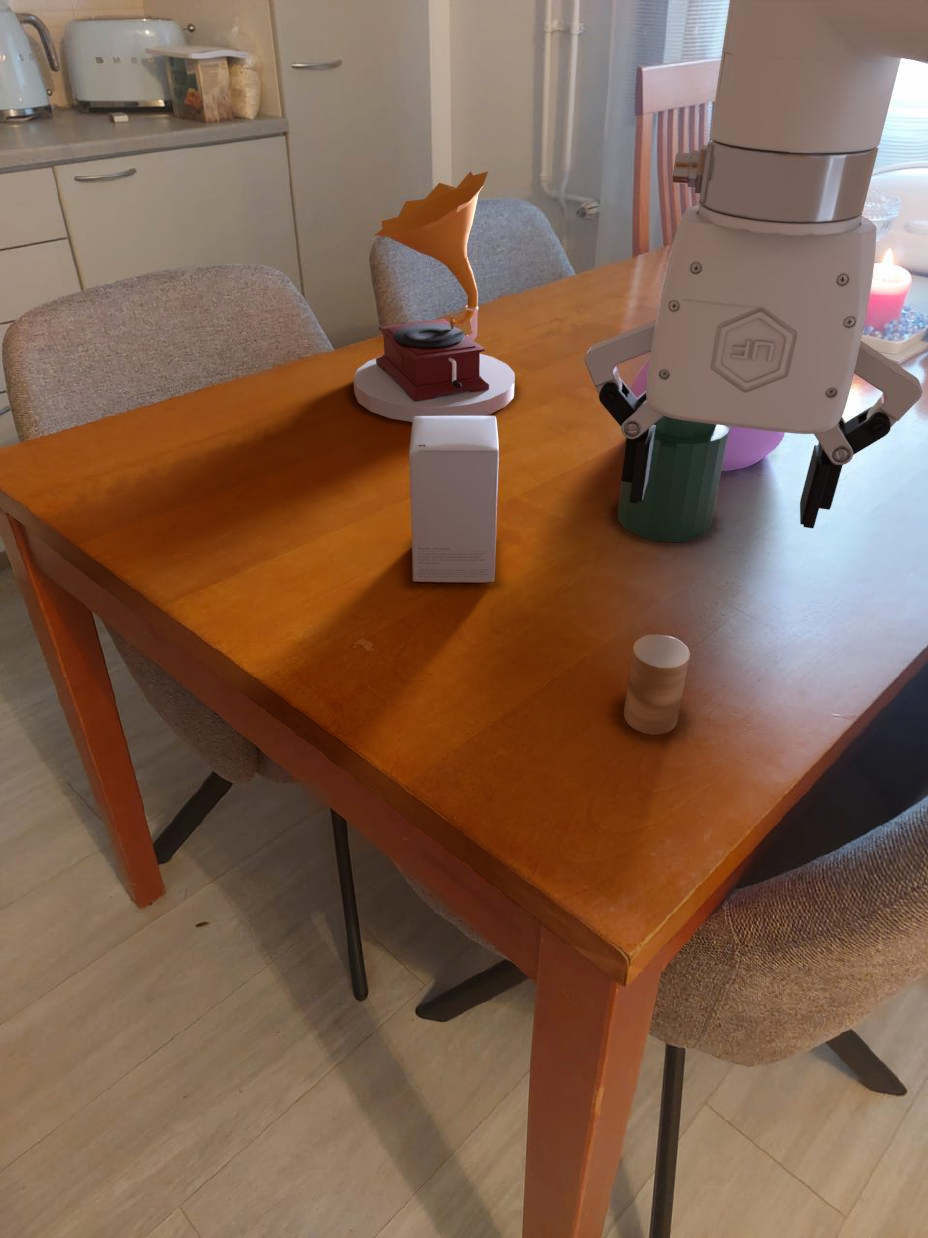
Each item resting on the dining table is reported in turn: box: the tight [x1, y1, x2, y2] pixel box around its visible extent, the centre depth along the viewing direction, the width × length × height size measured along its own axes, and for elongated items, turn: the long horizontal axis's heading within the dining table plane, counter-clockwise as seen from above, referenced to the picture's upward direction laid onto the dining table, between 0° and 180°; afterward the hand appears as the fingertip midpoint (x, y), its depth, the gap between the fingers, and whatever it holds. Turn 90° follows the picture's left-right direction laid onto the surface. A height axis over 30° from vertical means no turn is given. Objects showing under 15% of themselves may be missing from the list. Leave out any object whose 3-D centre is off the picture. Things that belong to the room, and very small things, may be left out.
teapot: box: [629, 357, 785, 472], centre depth 98 cm, size 25×18×14 cm
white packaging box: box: [408, 415, 500, 584], centre depth 77 cm, size 7×7×13 cm
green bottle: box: [617, 389, 730, 543], centre depth 83 cm, size 9×9×13 cm
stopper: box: [623, 633, 691, 736], centre depth 62 cm, size 4×4×6 cm
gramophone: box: [352, 171, 516, 423], centre depth 107 cm, size 20×20×25 cm
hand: (720, 504), depth 52 cm, fingers open, 9 cm apart
